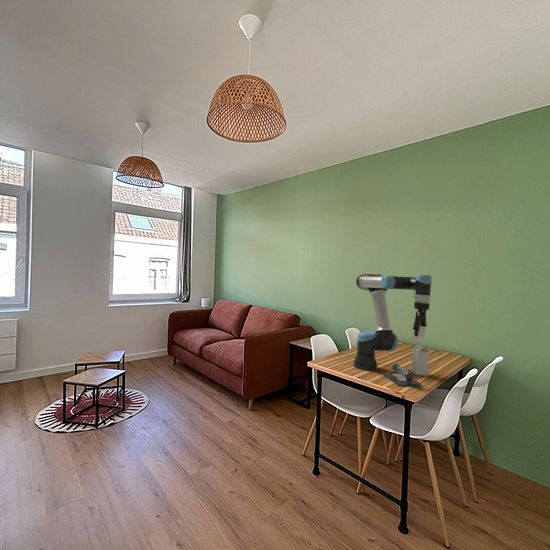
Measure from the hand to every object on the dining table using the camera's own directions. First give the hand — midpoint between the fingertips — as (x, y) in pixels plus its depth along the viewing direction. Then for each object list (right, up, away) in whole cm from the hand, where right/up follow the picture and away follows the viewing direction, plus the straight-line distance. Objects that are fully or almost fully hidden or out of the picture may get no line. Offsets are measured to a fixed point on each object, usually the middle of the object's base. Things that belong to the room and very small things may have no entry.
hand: (418, 339), depth 164 cm
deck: (-6, -26, +8) cm, 28 cm away
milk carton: (+11, -27, +22) cm, 36 cm away
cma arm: (-6, -22, +8) cm, 24 cm away
